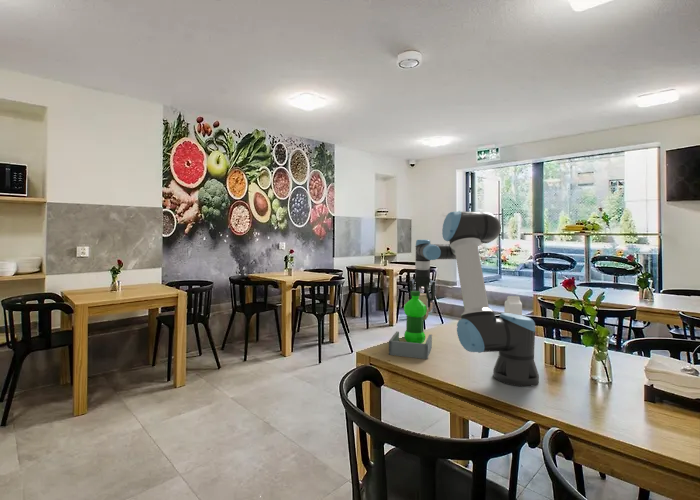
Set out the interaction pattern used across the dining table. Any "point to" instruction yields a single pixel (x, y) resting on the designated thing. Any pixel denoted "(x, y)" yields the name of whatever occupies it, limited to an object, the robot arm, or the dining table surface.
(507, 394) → the dining table surface
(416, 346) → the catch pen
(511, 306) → the milk
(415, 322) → the plastic bottle
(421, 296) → the scraper
